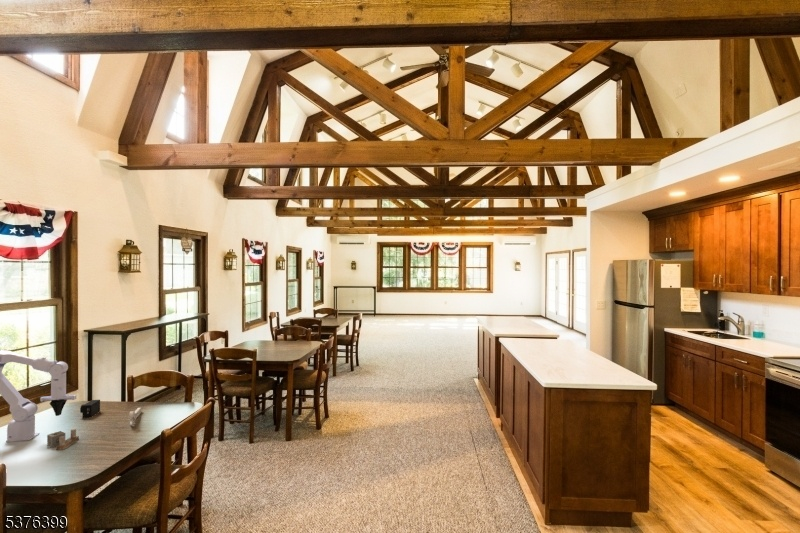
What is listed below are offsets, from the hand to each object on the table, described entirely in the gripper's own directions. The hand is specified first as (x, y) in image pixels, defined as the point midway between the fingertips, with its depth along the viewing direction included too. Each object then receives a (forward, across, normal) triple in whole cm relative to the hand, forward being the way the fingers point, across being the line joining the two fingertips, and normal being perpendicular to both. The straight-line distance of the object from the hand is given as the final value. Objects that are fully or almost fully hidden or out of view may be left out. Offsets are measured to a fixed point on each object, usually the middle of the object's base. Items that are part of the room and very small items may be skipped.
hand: (58, 415), depth 205 cm
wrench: (+10, +29, +14) cm, 34 cm away
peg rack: (+9, +12, -14) cm, 21 cm away
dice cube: (+10, +7, -14) cm, 18 cm away
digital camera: (+10, 0, +29) cm, 30 cm away
